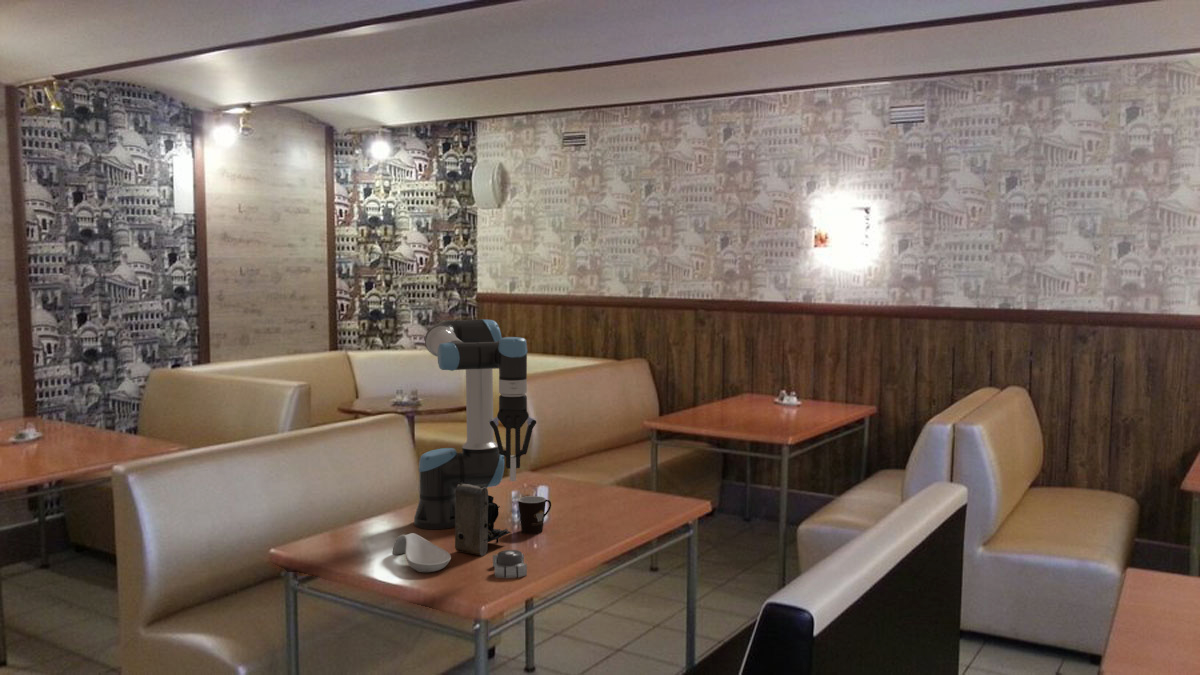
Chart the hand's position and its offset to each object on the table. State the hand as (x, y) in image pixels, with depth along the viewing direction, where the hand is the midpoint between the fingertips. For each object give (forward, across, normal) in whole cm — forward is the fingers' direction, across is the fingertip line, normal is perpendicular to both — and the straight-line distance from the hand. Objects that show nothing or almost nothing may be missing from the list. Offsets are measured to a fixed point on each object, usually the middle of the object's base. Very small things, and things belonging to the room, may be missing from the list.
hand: (512, 479), depth 248 cm
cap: (+23, -1, -9) cm, 24 cm away
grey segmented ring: (+23, -1, -8) cm, 24 cm away
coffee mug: (+24, +9, +29) cm, 39 cm away
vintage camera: (+24, -8, +14) cm, 29 cm away
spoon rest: (+24, -26, +2) cm, 35 cm away
